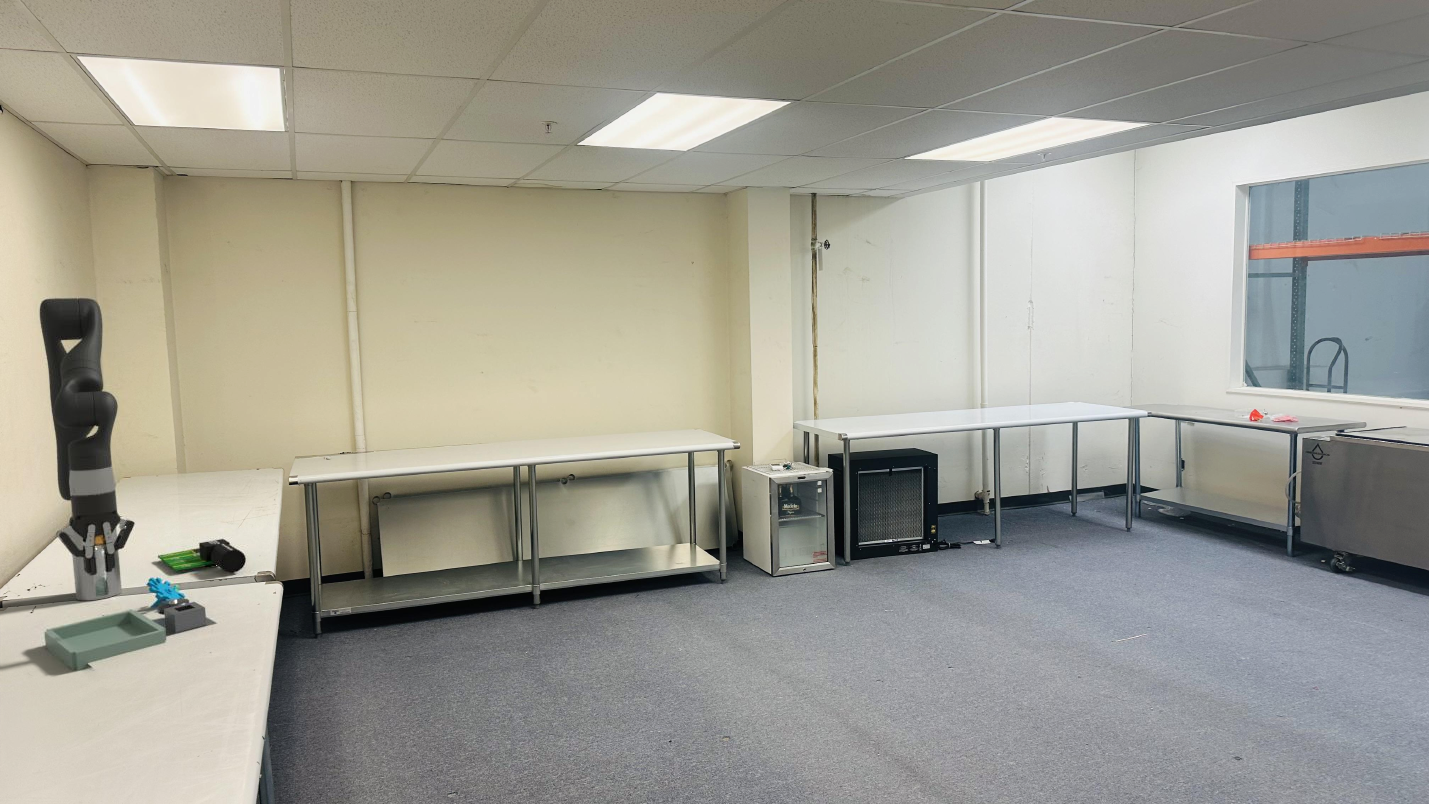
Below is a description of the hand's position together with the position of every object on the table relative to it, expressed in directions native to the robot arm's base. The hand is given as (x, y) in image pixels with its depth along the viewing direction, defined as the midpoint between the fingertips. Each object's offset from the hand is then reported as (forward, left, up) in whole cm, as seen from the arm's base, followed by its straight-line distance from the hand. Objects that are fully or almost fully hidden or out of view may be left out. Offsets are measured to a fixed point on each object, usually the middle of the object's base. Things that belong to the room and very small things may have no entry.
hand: (100, 572), depth 181 cm
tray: (0, 0, -16) cm, 16 cm away
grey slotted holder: (0, +14, -16) cm, 21 cm away
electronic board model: (-47, +36, -16) cm, 61 cm away
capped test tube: (0, 0, -5) cm, 5 cm away
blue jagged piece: (-17, +17, -16) cm, 29 cm away
